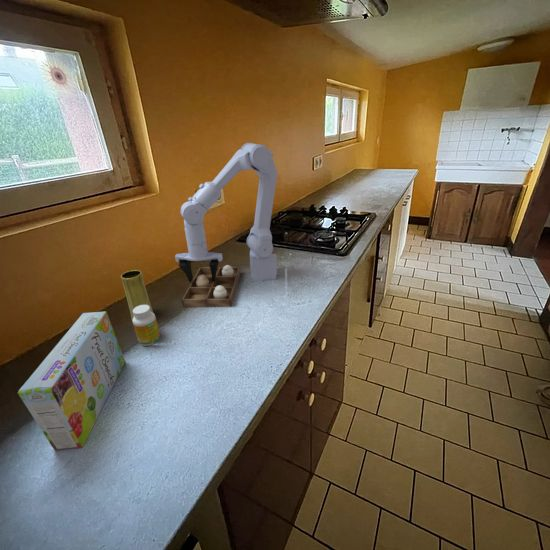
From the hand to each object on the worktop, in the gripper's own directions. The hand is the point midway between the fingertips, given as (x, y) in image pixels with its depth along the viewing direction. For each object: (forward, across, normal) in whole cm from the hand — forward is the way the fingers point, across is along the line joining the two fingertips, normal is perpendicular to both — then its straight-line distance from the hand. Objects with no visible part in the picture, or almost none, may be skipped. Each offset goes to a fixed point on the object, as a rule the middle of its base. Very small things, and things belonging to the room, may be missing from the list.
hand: (202, 280), depth 99 cm
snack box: (+4, +12, +44) cm, 46 cm away
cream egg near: (+3, -7, +7) cm, 11 cm away
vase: (+4, +14, +15) cm, 21 cm away
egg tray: (+4, -4, 0) cm, 5 cm away
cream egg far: (+3, -7, -7) cm, 11 cm away
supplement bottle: (+4, +8, +25) cm, 27 cm away
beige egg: (+3, 0, 0) cm, 3 cm away
